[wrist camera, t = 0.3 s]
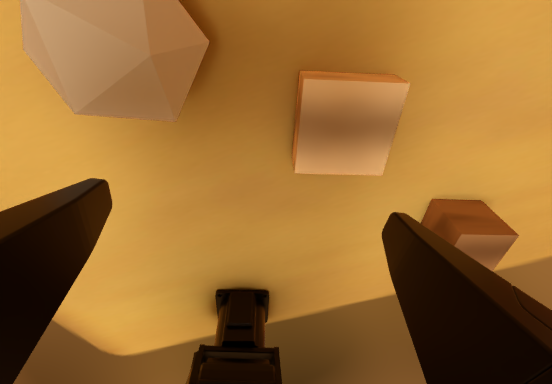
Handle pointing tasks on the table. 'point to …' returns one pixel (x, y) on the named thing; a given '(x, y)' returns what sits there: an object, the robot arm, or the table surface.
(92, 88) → the die
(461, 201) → the walnut cube
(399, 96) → the maple base
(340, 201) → the table surface
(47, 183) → the table surface
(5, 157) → the table surface
